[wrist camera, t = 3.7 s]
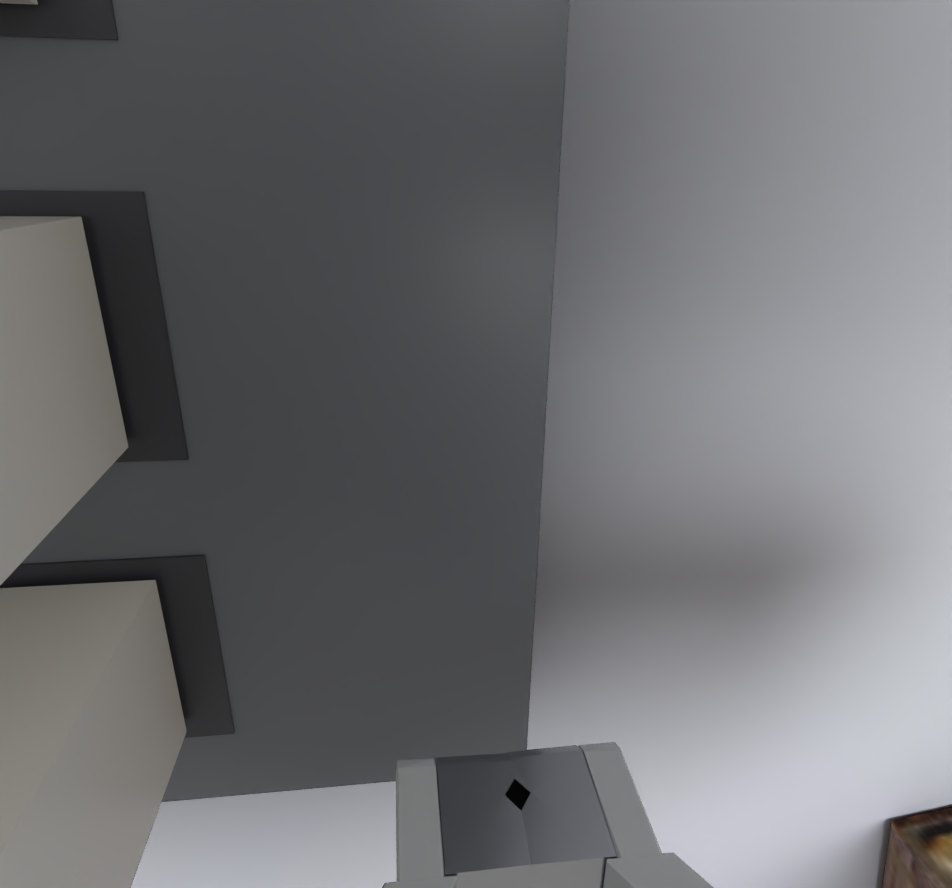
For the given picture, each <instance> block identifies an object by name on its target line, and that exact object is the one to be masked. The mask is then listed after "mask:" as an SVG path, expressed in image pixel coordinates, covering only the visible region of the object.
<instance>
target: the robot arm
mask: <svg viewBox="0 0 952 888" xmlns="http://www.w3.org/2000/svg"><path fill="white" fill-rule="evenodd" d="M396 846H397V882H390V883H385V884H384V885H383V887H382V888H714V887H712V886H711V885H710V884H709V883H708V882H707V881H706V880H704V879H703V878H702V877H701V876H700V875H699V874H698V873H696V872H695V871H694V870H693V869H692V868H691V867H690V866H688V865H687V864H686V863H685V862H684V861H683V860H681V859H680V858H679V857H678V856H677V855H676V854H675V853H662V852H661V849H660V847H659V844H658V842H657V839H656V837H655V834H654V832H653V829H652V827H651V824H650V822H649V819H648V817H647V814H646V812H645V809H644V807H643V804H642V802H641V799H640V797H639V794H638V792H637V789H636V787H635V784H634V782H633V779H632V777H631V774H630V772H629V769H628V767H627V764H626V762H625V759H624V757H623V754H622V752H621V749H620V748H619V746H618V745H617V744H616V743H615V742H611V743H600V744H589V745H579V746H576V745H573V746H563V747H553V748H543V749H533V750H523V751H512V752H507V753H501V754H484V755H467V756H450V757H436V759H434V758H425V759H410V760H397V767H396Z"/></svg>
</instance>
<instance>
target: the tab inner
mask: <svg viewBox="0 0 952 888" xmlns="http://www.w3.org/2000/svg"><path fill="white" fill-rule="evenodd" d="M0 3H8V4H34V5H38V2H37V0H0Z"/></svg>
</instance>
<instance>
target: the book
mask: <svg viewBox="0 0 952 888" xmlns="http://www.w3.org/2000/svg"><path fill="white" fill-rule="evenodd" d="M882 888H952V807H951V808H947V809H942V810H938V811H934V812H929V813H925V814H920V815H916V816H912V817H907V818H903V819H899V820H894V821H892V823H891V830H890V837H889V844H888V851H887V858H886V865H885V871H884V878H883V885H882Z"/></svg>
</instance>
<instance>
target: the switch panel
mask: <svg viewBox="0 0 952 888" xmlns="http://www.w3.org/2000/svg"><path fill="white" fill-rule="evenodd" d="M37 2H38V5H34V4H8V3H0V216H65V217H82V222H83V227H84V232H85V237H86V242H87V246H88V251H89V256H90V261H91V266H92V271H93V276H94V281H95V286H96V290H97V295H98V300H99V305H100V310H101V315H102V320H103V325H104V330H105V334H106V339H107V344H108V349H109V354H110V359H111V364H112V369H113V374H114V378H115V383H116V388H117V393H118V398H119V403H120V408H121V413H122V418H123V422H124V427H125V432H126V437H127V442H128V448H127V449H126V450H125V452H124V453H123V454H122V455H121V456H120V457H119V458H118V459H117V460H116V461H115V462H114V463H113V465H112V466H111V467H110V468H109V469H108V470H107V471H106V472H105V473H104V474H103V475H102V476H101V477H100V479H99V480H98V481H97V482H96V483H95V484H94V485H93V486H92V487H91V488H90V489H89V490H88V492H87V493H86V494H85V495H84V496H83V497H82V498H81V499H80V500H79V501H78V502H77V503H76V504H75V506H74V507H73V508H72V509H71V510H70V511H69V512H68V513H67V514H66V515H65V516H64V517H63V519H62V520H61V521H60V522H59V523H58V524H57V525H56V526H55V527H54V528H53V529H52V530H51V531H50V533H49V534H48V535H47V536H46V537H45V538H44V539H43V540H42V541H41V542H40V543H39V544H38V545H37V547H36V548H35V549H34V550H33V551H32V552H31V553H30V554H29V555H28V556H27V557H26V558H25V560H24V561H23V562H22V563H21V564H20V565H19V566H18V567H17V568H16V569H15V570H14V571H13V572H12V574H11V575H10V576H9V577H8V578H7V579H6V580H5V581H4V582H3V583H2V584H1V585H0V588H14V587H32V586H51V585H70V584H88V583H107V582H125V581H144V580H156V584H157V589H158V594H159V599H160V603H161V608H162V613H163V618H164V623H165V628H166V633H167V638H168V643H169V647H170V652H171V657H172V662H173V667H174V672H175V677H176V682H177V687H178V691H179V696H180V701H181V706H182V711H183V716H184V721H185V726H186V731H187V732H186V735H185V737H184V740H183V743H182V746H181V749H180V751H179V754H178V757H177V760H176V762H175V765H174V768H173V771H172V774H171V776H170V779H169V782H168V785H167V788H166V790H165V793H164V796H163V799H162V801H161V802H167V801H178V800H190V799H201V798H212V797H223V796H234V795H245V794H256V793H267V792H278V791H290V790H301V789H312V788H323V787H334V786H345V785H356V784H367V783H378V782H389V781H396V767H397V760H410V759H425V758H434V759H436V757H450V756H467V755H484V754H501V753H507V752H512V751H523V750H527V735H528V717H529V700H530V682H531V665H532V647H533V629H534V612H535V594H536V577H537V559H538V542H539V524H540V506H541V489H542V471H543V454H544V436H545V419H546V401H547V383H548V366H549V348H550V331H551V313H552V296H553V278H554V261H555V243H556V225H557V208H558V190H559V173H560V155H561V138H562V120H563V102H564V85H565V67H566V50H567V32H568V15H569V0H37Z"/></svg>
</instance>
